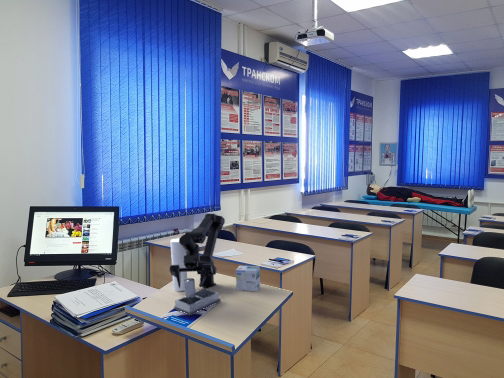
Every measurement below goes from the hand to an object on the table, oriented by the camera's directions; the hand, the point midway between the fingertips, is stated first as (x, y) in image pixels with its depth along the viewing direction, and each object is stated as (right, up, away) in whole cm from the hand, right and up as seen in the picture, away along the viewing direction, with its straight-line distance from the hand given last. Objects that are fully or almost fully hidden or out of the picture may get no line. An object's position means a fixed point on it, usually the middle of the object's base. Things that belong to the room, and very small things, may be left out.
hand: (189, 287), depth 164 cm
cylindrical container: (-9, -7, +24) cm, 27 cm away
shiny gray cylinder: (0, -8, +1) cm, 8 cm away
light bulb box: (+26, -6, +21) cm, 34 cm away
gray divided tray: (+3, -9, +4) cm, 10 cm away
